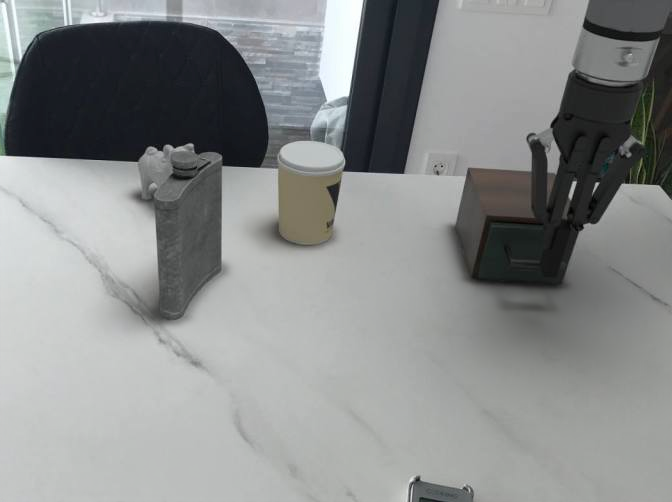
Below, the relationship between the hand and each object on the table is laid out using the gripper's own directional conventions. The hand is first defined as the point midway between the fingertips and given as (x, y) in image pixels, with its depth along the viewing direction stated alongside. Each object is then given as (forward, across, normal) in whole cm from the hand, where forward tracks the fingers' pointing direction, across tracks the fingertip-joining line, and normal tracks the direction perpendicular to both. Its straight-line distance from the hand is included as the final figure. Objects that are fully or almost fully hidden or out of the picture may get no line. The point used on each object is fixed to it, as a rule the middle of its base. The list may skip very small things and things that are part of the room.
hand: (547, 271), depth 95 cm
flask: (+7, -44, +2) cm, 45 cm away
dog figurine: (+7, -49, +25) cm, 56 cm away
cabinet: (+7, 0, +16) cm, 18 cm away
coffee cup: (+7, -29, +19) cm, 36 cm away
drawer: (+6, 0, +12) cm, 13 cm away
